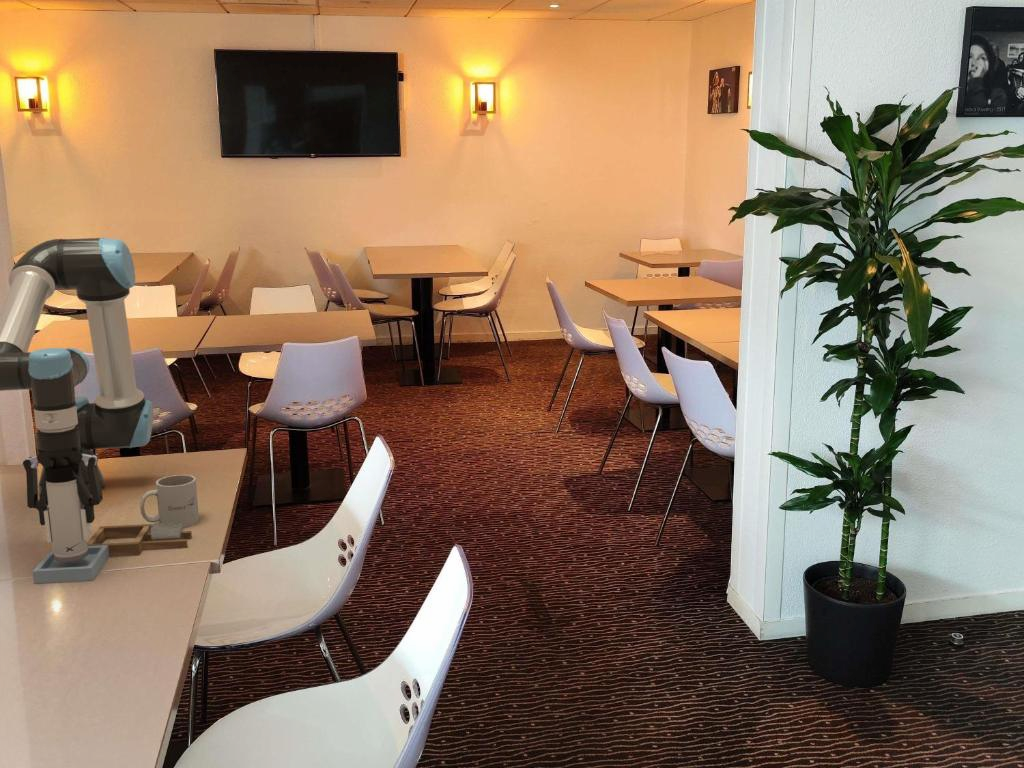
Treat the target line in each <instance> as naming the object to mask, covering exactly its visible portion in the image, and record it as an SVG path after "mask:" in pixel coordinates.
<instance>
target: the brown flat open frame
mask: <svg viewBox="0 0 1024 768" xmlns="http://www.w3.org/2000/svg"><path fill="white" fill-rule="evenodd" d="M151 528H152V524H151V523H148V524H145V523H143V524H127V525H126V524H124V525H120V524H119V525H106V526H105V525H103V526H101V525H100V526H99V527H98V528H97V530H96V531H95V532H94V533H93V535H91V537H90V538H89V539H88V540H87V546H102V545H108V547H109V558H111V557H129V556H139V555H140V554H141V552H142V551H148V550H149V551H151V550H165V549H167V550H169V549H170V550H171V549H186V548H187V547H188V540H191V539H192V538H193V536H192V535H193V534H192V530H183V537H184V539H179V540H159V541H152V540H151ZM126 538H127V539H128V538H131V539H132V538H135V539H134V541H131V542H130V541H127V542H110V543H103V542H104V541H105V540H110V539H112V540H113V539H126Z"/></svg>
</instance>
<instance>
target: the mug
mask: <svg viewBox="0 0 1024 768" xmlns="http://www.w3.org/2000/svg"><path fill="white" fill-rule="evenodd" d="M155 487H156V489H152V490H148V491H146V492H145V493H144V494H143V495H142V497H141V499H140V505H139V506H140V509H139V510H140V515H141V517H142V518H143V519H144V520H146V521H147V522H148V523H156V522H158V524H169V523H182V524H183V528H189V527H191V526H194V525H197V524H198V523H199V521H200V517H199V515H200V514H199V505H198V504H199V503H198V491H197V489H198V488H197V478H196V477H195V476H193V475H189V474H174V475H170V476H169V475H168V476H164V477H161V478H159V479H157V480H156V481H155ZM150 496H156V498H157V500H156V501H157V509H158V511H157V512H158V515H155V516H154V517H149V516H148V515H147V513H146V511H145V502H146V499H147V498H149V497H150Z"/></svg>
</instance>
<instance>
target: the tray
mask: <svg viewBox="0 0 1024 768" xmlns="http://www.w3.org/2000/svg"><path fill="white" fill-rule="evenodd" d="M87 547H88V555H87V556H86V557H85V558H83V559H81V560H79V561H75V562H68V563H62V562H58V561H56V560H55V559H54V550H53V547H52V548H51V550H50V551H49V552H48V553H47V554H46V555H45V557H44V558H43V559H42V560H41V561H40V562H39V563H38V565H37V566H35V568H34V569H33V570H32V579H33V584H37V585H38V584H51V583H52V584H53V583H55V584H56V583H70V582H71V583H72V582H89V581H94V579H95V578H96V576H97V575H99V572H100V571H101V569H102V568H103V567H104V566H105V564H106V563H107V561H108V560H109V558H110V557H109V547H108V545H102V546H87Z"/></svg>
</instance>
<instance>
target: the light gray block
mask: <svg viewBox="0 0 1024 768" xmlns="http://www.w3.org/2000/svg"><path fill="white" fill-rule="evenodd" d="M183 531H184V529H183V524H182V523H169V524H159V523H154V524H153V525H151V540H152V541H159V540H179V539H184V537H183Z"/></svg>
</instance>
